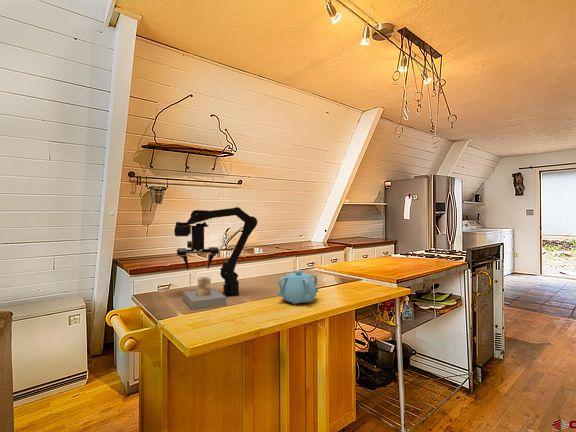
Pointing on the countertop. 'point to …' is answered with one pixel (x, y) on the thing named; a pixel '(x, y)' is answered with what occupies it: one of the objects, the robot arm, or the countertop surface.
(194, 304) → the grey riser
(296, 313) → the countertop surface
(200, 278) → the beech block
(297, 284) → the decorative pot
